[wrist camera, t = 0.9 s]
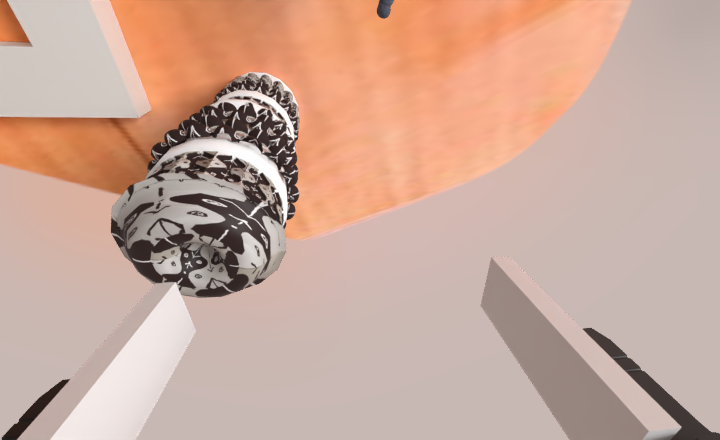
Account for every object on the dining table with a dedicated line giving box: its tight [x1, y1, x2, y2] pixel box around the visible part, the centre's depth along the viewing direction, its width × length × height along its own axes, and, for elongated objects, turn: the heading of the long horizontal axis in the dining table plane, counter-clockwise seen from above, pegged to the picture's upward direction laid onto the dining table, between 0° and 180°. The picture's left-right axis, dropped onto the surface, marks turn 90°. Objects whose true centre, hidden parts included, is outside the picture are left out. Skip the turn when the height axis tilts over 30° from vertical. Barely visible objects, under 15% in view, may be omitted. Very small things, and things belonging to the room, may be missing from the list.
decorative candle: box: [111, 72, 299, 298], centre depth 23 cm, size 9×9×25 cm
